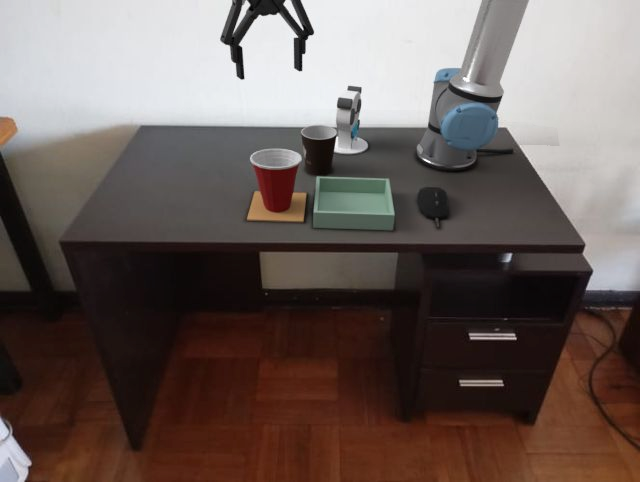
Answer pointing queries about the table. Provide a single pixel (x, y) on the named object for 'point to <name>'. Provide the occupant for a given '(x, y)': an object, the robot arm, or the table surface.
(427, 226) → the table surface
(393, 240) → the table surface
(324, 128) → the coffee mug
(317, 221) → the tray
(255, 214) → the cork mat
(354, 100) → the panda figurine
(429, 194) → the gaming mouse
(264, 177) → the plastic cup
